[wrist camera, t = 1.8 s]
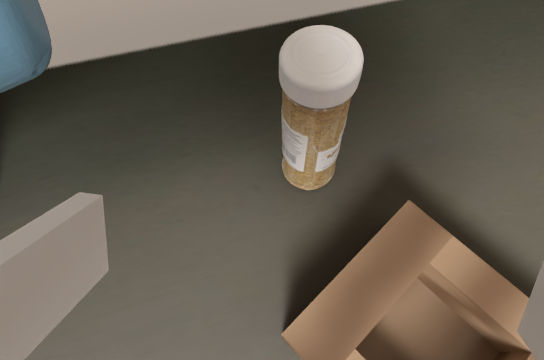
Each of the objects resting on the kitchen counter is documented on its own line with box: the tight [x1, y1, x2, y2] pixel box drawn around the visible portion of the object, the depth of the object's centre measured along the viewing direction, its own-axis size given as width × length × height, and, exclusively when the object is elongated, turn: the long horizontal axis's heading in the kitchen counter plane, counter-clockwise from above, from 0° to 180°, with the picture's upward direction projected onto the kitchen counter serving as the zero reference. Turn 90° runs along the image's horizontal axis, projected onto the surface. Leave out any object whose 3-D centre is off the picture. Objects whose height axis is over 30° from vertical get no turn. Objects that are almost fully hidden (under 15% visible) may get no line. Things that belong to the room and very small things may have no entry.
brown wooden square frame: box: [281, 200, 536, 360], centre depth 24 cm, size 14×12×5 cm
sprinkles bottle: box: [279, 25, 364, 190], centre depth 26 cm, size 5×5×13 cm
